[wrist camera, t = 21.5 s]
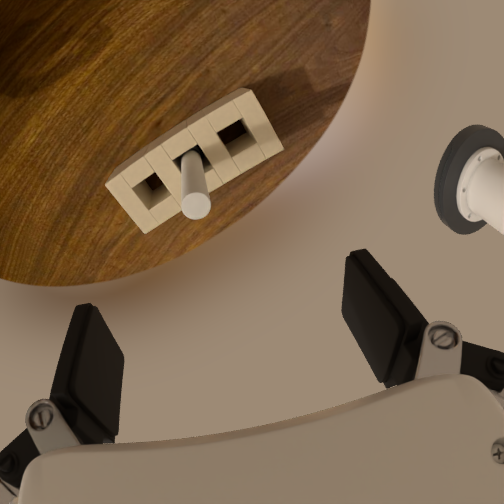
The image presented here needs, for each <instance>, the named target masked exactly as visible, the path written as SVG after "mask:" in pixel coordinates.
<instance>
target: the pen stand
mask: <svg viewBox="0 0 504 504" xmlns="http://www.w3.org/2000/svg"><path fill="white" fill-rule="evenodd" d="M237 120H240V121H241V123H242V125H243V127H244V128H245V130H246V132H247V133H245V134H243V135H241V136H240V137H238V138H236V139H234V140H233V141H231V142H229V143H228V144H226V145H224V143H223V142H222V140H221V139H220V137H219V135H218V134H217V132H219V131H220V130H222V129H224V128H225V127H227V126H229V125H230V124H232V123H234V122H236V121H237ZM197 144H198V145H199V146H200V148H201V149H202V151H203V152H204V154H205V155H206V157H204V158H203V159H201V160H202V165H203V170H204V174H205V179H206V183H207V188H208V193H210V192H212V191H213V190H215V189H216V188H218V187H220V186H221V185H223V184H225V183H226V182H228V181H230V180H232V179H233V178H235V177H237V176H238V175H240V174H241V173H243V172H245V171H247V170H248V169H250V168H252V167H254V166H255V165H257V164H259V163H260V162H262V161H264V160H266V159H268V158H270V157H271V156H273V155H275V154H277V153H278V152H280V151H282V150H284V148H283V146H282V144H281V142H280V140H279V138H278V137H277V135H276V133H275V131H274V129H273V127H272V125H271V124H270V122H269V120H268V118H267V116H266V114H265V113H264V111H263V109H262V107H261V105H260V104H259V102H258V100H257V98H256V96H255V95H254V93H253V91H252V90H250V89H246V88H242V87H241V88H239V89H237V90H235V91H234V92H232V93H230V94H228V95H226V96H225V97H223V98H221V99H219V100H218V101H216V102H214V103H212V104H211V105H209V106H207V107H206V108H204V109H202V110H201V111H199V112H197V113H196V114H194V115H192V116H191V117H189V118H187V120H184V121H183V122H181V123H180V124H178V125H176V126H175V127H173V128H172V129H170V130H169V131H167V132H166V133H164V134H163V135H161V136H160V137H158V138H157V139H155V140H154V141H152V142H151V143H150V144H148V145H147V146H145V147H144V148H142V149H141V150H139V151H138V152H137V153H135V154H134V155H132V156H131V157H130V158H129V159H127V160H126V161H124V162H123V163H122V164H120V165H119V166H118V167H116V168H115V170H114V171H113V173H112V174H111V176H110V177H109V179H108V180H107V182H106V184H105V185H106V187H107V188H108V189H109V191H110V192H111V193H112V194H113V196H114V197H115V198H116V199H117V201H118V202H119V203H120V204H121V206H122V207H123V208H124V209H125V211H126V212H127V213H128V214H129V216H130V217H131V218H132V219H133V220H134V222H135V223H136V224H137V225H138V227H139V228H140V229H141V230H142V231H143V233H144V234H146V233H148V232H149V231H151V230H152V229H154V228H155V227H157V226H158V225H160V224H161V223H163V222H165V221H166V220H168V219H169V218H171V217H172V216H174V215H175V214H177V213H178V212H180V211H182V208H181V158H180V155H181V154H183V153H184V152H186V151H188V150H189V149H191V148H192V147H194V146H195V145H197ZM154 172H156V174H157V175H158V176H159V178H160V179H161V180H162V182H163V183H164V184H162V185H161V186H159V187H158V188H156V189H155V190H153V191H152V189H151V188H150V187H149V185H148V184H147V183H146V181H145V180H144V179H146V178H147V177H148V176H150V175H151V174H153V173H154Z"/></svg>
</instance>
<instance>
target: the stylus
mask: <svg viewBox="0 0 504 504" xmlns="http://www.w3.org/2000/svg"><path fill="white" fill-rule="evenodd" d="M181 208H182V211H183V213H184V214H185V216H187V217H188V218H191V219H201V218H203V217H205V216H206V215H207V214H208V213H209V211H210V209H211V202H210V197H209V193H208V188H207V183H206V179H205V174H204V170H203V165H202V160H201V155H200V151H199V148H198V147H197V146H196V145H195V146H194V147H192V148H191V149H189V150H188V151H186V152H184V153H183V154H181Z"/></svg>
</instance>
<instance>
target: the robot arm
mask: <svg viewBox="0 0 504 504" xmlns="http://www.w3.org/2000/svg"><path fill="white" fill-rule="evenodd" d="M456 198H457V206H458V210H459V212H460V214H461V215H462V216H463V217H464V218H466V219H467V220H469V221H471V222H477V221H480V220H482V219H483V220H484V221H486V222H487V223H488V224H490V225H491V226H492V227H494V228H495V229H497V230H498V231H499V232H500V233H502V234H503V235H504V159H503V157H502V155H501V154H500V153H499V151H497V150H495V149H493V148H491V147H483V148H480V149H478V150H477V151H476V152H474V153H473V154H472V155H471V157H470V158H469V159H468V161H467V162H466V164H465V166H464V167H463V170H462V172H461V175H460V178H459V181H458V186H457V195H456ZM342 315H343V318H344V320H345V321H346V323H347V325H348V327H349V329H350V330H351V332H352V334H353V336H354V337H355V339H356V341H357V343H358V345H359V347H360V348H361V350H362V352H363V354H364V356H365V358H366V359H367V361H368V363H369V365H370V367H371V369H372V371H373V372H374V374H375V376H376V378H377V380H378V381H379V382H380V383H382V382H383V383H384V385H385V387H386V388H389V389H387V390H384V391H381V392H378V393H376V394H373V395H370V396H367V397H364V398H361V399H358V400H354V401H351V402H348V403H345V404H342V405H339V406H335V407H332V408H329V409H325V410H322V411H319V412H315V413H311V414H308V415H304V416H300V417H296V418H292V419H288V420H284V421H280V422H276V423H272V424H266V425H262V426H257V427H252V428H247V429H242V430H236V431H231V432H225V433H219V434H213V435H205V436H198V437H191V438H182V439H173V440H163V441H151V442H136V443H118V444H103V443H115V436H116V435H118V431H119V414H120V401H121V388H122V379H123V369H124V356H123V353H122V351H121V349H120V347H119V346H118V344H117V342H116V341H115V339H114V337H113V335H112V334H111V332H110V330H109V328H108V326H107V325H106V323H105V321H104V319H103V317H102V315H101V313H100V312H99V310H98V308H97V307H96V306H93V305H92V304H91V303H87V304H82V305H77V306H76V307H75V310H74V313H73V315H72V319H71V322H70V325H69V328H68V331H67V335H66V337H65V341H64V344H63V347H62V351H61V354H60V358H59V361H58V365H57V369H56V373H55V376H54V381H53V384H52V389H51V393H50V398H49V399H41V400H38V401H36V402H34V403H33V404H32V405H31V406H30V408H29V409H28V411H27V413H26V419H25V422H26V426H27V428H26V429H25V430H24V431H23V432H22V433H21V434H20V435H19V436H18V437H16V438H15V439H14V440H13V441H12V442H11V443H10V444H9V445H8V446H7V447H5V448H4V449H3V450H2V451H1V452H0V504H504V353H502V352H500V351H497V350H493V349H489V348H486V347H482V346H479V345H475V344H472V343H468V342H465V341H462V335H461V333H460V331H459V330H458V329H457V328H456V327H455V326H454V325H452V324H451V323H448V322H445V321H435V322H432V323H430V324H429V323H428V322H427V321H426V319H425V318H424V317H423V315H422V314H421V313H420V311H419V310H418V309H417V308H416V306H415V305H414V304H413V302H412V301H411V300H410V299H409V297H407V295H406V294H405V293H404V292H403V290H402V289H401V288H400V286H399V285H398V284H397V283H396V281H395V280H394V279H392V278H390V277H389V275H388V274H387V273H386V272H385V270H384V269H383V268H382V267H381V266H380V265H379V263H378V262H377V261H376V260H375V259H374V258H373V256H372V255H371V254H370V253H369V252H368V251H367V250H366V249H361V250H356V251H352V252H350V255H349V256H347V257H346V262H345V276H344V288H343V299H342ZM395 385H397V386H395ZM393 386H395V387H393ZM390 387H392V388H390Z"/></svg>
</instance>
